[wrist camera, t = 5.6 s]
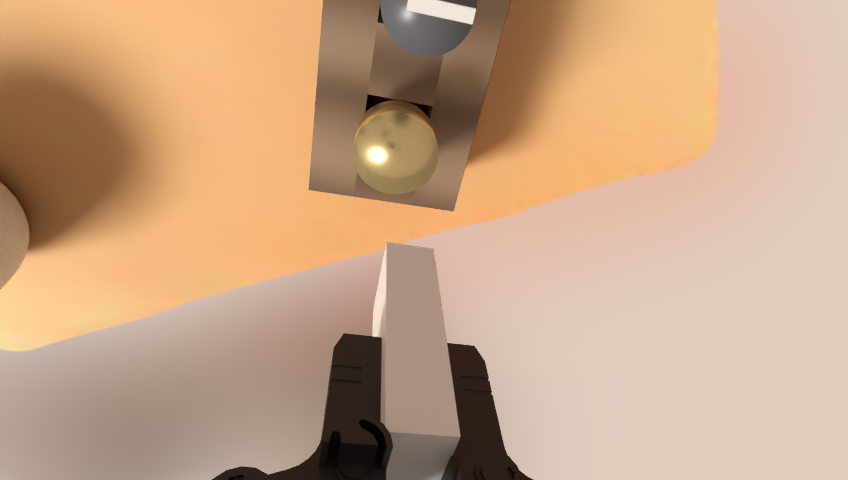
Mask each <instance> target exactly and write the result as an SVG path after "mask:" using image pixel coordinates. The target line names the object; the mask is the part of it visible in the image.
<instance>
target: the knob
mask: <svg viewBox="0 0 848 480" xmlns="http://www.w3.org/2000/svg"><path fill="white" fill-rule="evenodd" d="M352 155H353V162H354V166H355V169H356V171H357V173H358V174H359V176H360V177H361V179H362V180H363V181H364V182H365V183H366V184H368V185H369V186H370V187H372V188H373V189H375V190H377V191H380V192H383V193H387V194H405V193H409V192H412V191H414V190H416V189H418V188H420V187H421V186H423V185H424V184H425V183H426V182H427V181H428V180H429V179H430V178H431V176H432V175H433V173H434V171H435V169H436V167H437V163H438V156H439V152H438V145H437V141H436V137H435V132H434V129H433V126H432V123H431V121H430V120H429V118H428V117H427V115H426V114H425V113H424V112H423V111H422V110H421V109H419V108H418V107H417V105H416V103H413V102H407V101H402V100H396V99H391V98H386V97H380V96H375V95H374V97H373V101H372V108H370V109H369V110H368V111H367V112H366V113H365V114H364V115H363V116H362V118H361V119H360V121H359V123H358V125H357V128H356V133H355V139H354V144H353V153H352Z"/></svg>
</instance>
